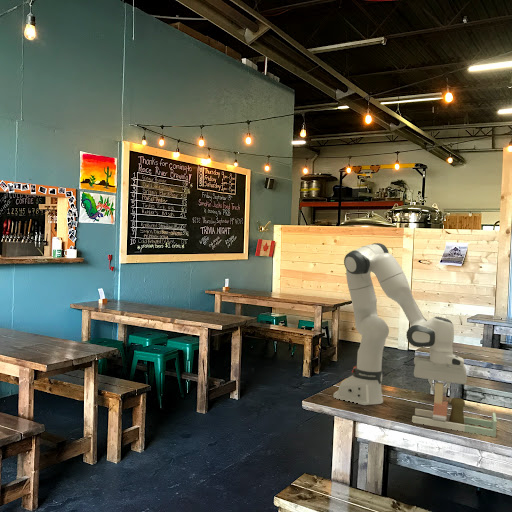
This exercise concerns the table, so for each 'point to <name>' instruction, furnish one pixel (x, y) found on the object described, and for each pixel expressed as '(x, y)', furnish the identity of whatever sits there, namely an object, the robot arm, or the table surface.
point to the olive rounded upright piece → (457, 411)
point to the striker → (439, 403)
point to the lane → (457, 426)
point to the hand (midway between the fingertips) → (438, 391)
